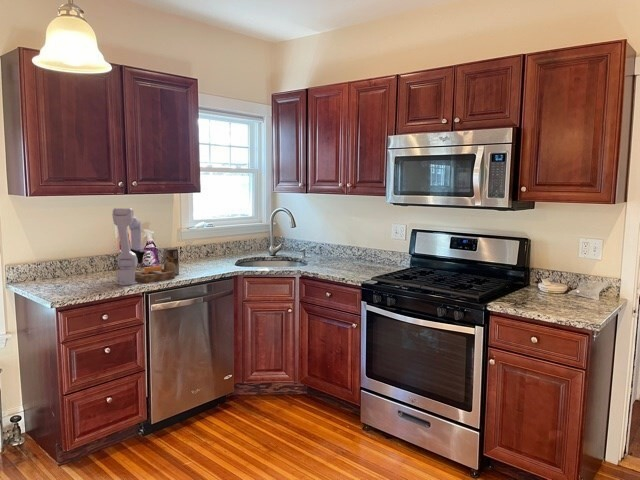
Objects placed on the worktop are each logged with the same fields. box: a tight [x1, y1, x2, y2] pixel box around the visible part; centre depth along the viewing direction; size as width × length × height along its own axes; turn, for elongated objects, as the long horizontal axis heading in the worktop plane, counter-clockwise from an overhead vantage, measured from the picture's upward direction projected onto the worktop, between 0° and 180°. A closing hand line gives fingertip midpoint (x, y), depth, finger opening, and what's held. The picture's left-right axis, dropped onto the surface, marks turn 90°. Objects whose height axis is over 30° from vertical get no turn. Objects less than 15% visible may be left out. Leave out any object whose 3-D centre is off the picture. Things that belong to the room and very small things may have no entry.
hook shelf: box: [135, 268, 176, 284], centre depth 285 cm, size 20×14×5 cm
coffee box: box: [162, 248, 180, 276], centre depth 301 cm, size 9×6×16 cm
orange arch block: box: [143, 265, 163, 275], centre depth 285 cm, size 10×2×6 cm, turn 137°
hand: (136, 262), depth 289 cm, fingers open, 7 cm apart
